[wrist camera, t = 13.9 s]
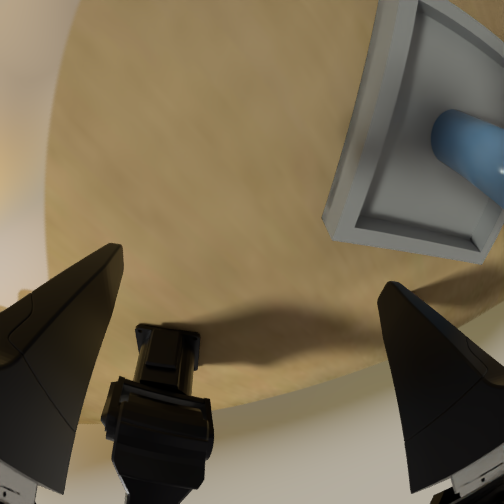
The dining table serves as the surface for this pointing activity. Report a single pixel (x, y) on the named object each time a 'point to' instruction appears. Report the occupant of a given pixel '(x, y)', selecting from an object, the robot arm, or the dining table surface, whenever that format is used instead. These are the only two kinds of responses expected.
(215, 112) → the dining table surface
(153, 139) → the dining table surface
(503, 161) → the cylinder
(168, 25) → the dining table surface
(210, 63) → the dining table surface
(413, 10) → the tray
